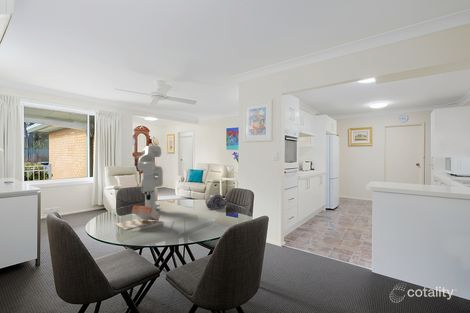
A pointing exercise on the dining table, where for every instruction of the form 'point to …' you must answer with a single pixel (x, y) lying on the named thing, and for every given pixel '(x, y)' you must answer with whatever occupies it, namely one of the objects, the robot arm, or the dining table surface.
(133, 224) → the board
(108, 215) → the dining table surface
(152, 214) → the cracker box
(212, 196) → the toy elephant
